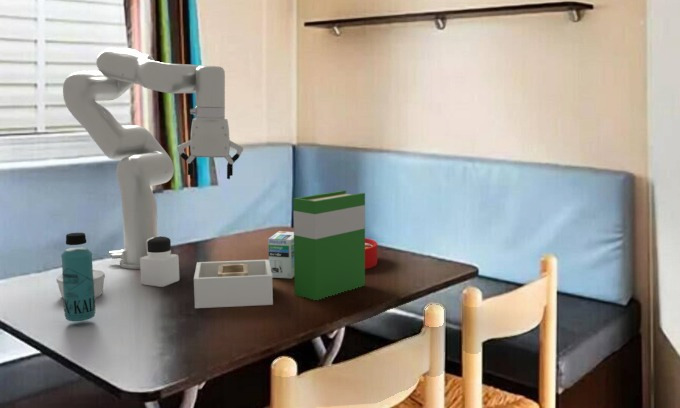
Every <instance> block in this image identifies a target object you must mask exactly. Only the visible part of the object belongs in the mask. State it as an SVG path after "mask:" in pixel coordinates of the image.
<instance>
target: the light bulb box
mask: <svg viewBox="0 0 680 408" xmlns="http://www.w3.org/2000/svg"><path fill="white" fill-rule="evenodd" d="M267 245H268V247H267V250H268V260H269V263H270V267H271V272H272V279H274V278H275V279H276V278H277V279H290V280H291V279H294V231H282V230H279V231H277V232H276V233H274V234H273V235H272V236H270V237H269V238H268V240H267Z"/></svg>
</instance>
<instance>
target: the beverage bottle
mask: <svg viewBox="0 0 680 408" xmlns="http://www.w3.org/2000/svg"><path fill="white" fill-rule="evenodd" d="M86 243H87V237H86V233H85V232H70V233H67V234H66V235H65V245H68V246H77V247H70V248H66V249H65V250H64V251H63V252H62V253H61V254H60V255H61V256H60V257H61V266H62V267H61V268H62V269H61V270H62V272H61V274H62V275H63V286H62V287H63V291H64V298H63V301H62V302H63V312H64V318H65V320H66V321H70V322H83V321H88V320H91V319H93V318H94V317H95V316H96V304H95V303H96V300H95V299H96V298H94V297H95V296H94V289H95V288H94V281H93V270H94V269H93V268H94V267H93V253H92V251H91V250H90V249H88V248H86V247H81V246H79V245H83V244H84V245H85V244H86Z"/></svg>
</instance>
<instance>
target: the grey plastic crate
mask: <svg viewBox="0 0 680 408" xmlns="http://www.w3.org/2000/svg"><path fill="white" fill-rule="evenodd" d="M227 264H247V267H248V276H227V277H218V268H219V265H227ZM194 271H195V272H194V276H193V294H194V295H193V296H194V309H207V308H208V309H209V308H210V309H212V308H229V307H233V308H235V307H250V306H251V307H252V306H270V305H271V306H273V305H274V299H273V298H274V297H273V296H274V293H273V278H272V272H271V267H270V263H269V259H249V260H247V259H246V260H245V259H244V260H228V261H227V260H224V261H223V260H222V261H221V260H220V261H199V262H198V261H196V266H195V270H194Z"/></svg>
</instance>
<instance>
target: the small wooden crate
mask: <svg viewBox="0 0 680 408" xmlns="http://www.w3.org/2000/svg"><path fill="white" fill-rule="evenodd" d="M227 276H248V267H247V264H227V265H219V268H218V277H227Z"/></svg>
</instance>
